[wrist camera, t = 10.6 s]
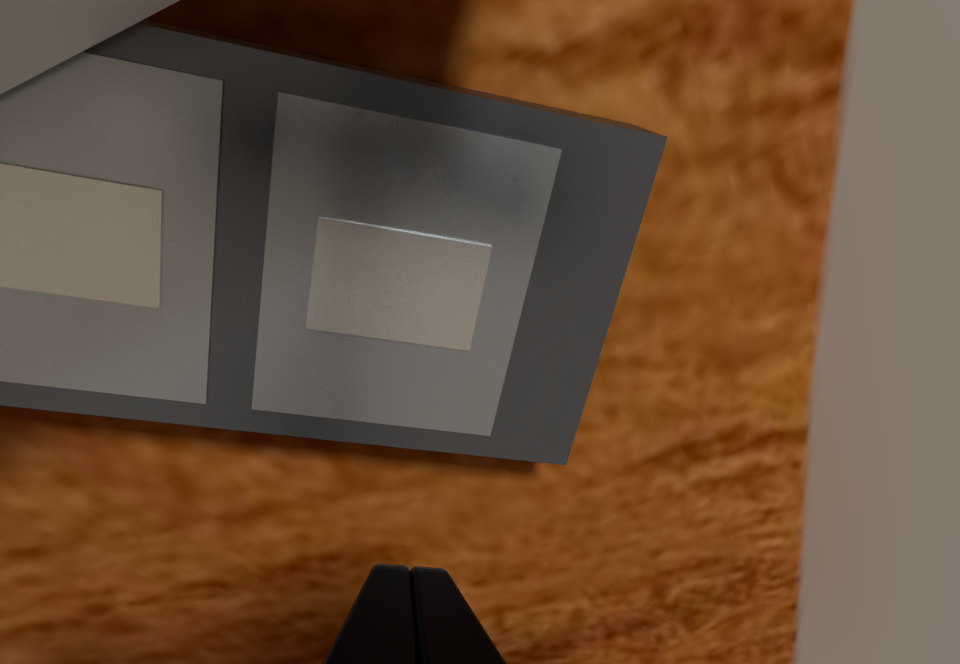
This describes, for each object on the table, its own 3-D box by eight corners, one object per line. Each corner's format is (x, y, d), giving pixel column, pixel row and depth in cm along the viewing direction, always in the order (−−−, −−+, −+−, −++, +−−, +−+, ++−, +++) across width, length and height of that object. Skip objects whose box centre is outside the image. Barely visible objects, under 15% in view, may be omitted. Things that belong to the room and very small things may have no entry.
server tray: (548, 421, 22) (567, 468, 20) (-331, 317, 18) (-447, 362, 15) (633, 124, 19) (670, 138, 16) (-458, -112, 14) (-639, -143, 11)
